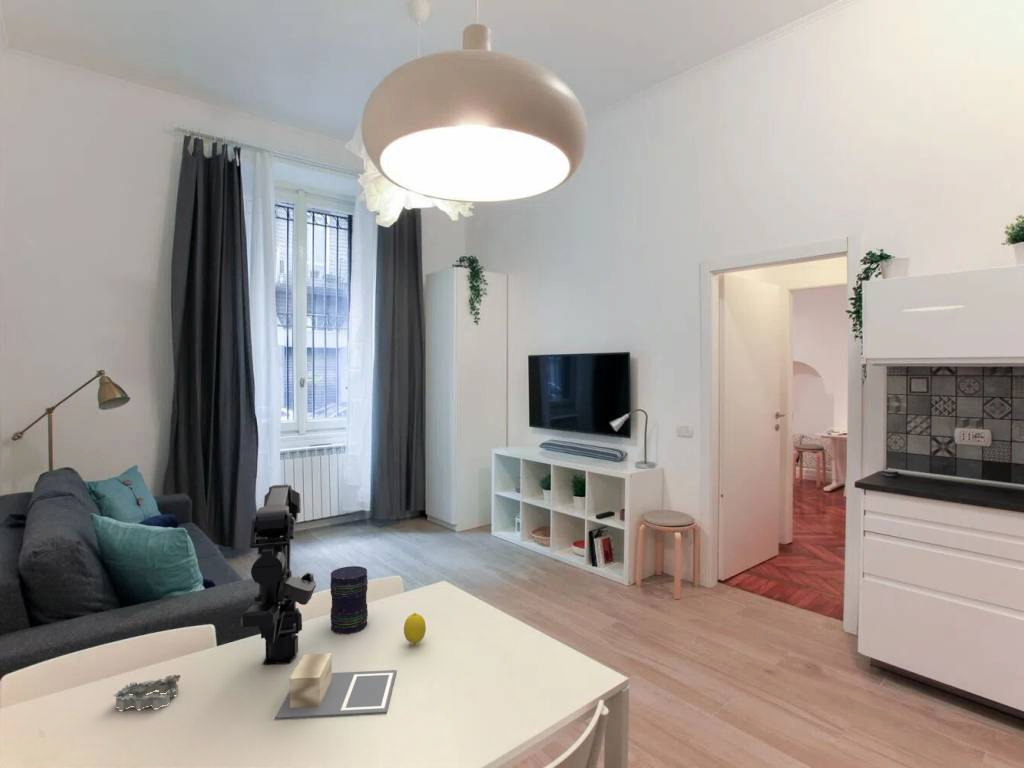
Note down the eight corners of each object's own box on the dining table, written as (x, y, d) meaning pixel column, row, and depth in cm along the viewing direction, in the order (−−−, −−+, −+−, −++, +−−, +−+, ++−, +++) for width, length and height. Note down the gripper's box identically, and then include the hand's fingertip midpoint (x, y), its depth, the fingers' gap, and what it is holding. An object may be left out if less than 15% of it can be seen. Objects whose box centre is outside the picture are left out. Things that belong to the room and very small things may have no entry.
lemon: (421, 650, 136) (421, 618, 136) (400, 648, 138) (400, 616, 138) (428, 640, 142) (428, 609, 142) (408, 638, 143) (408, 607, 143)
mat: (274, 719, 109) (274, 717, 109) (299, 676, 125) (299, 674, 125) (386, 713, 111) (386, 711, 111) (396, 671, 127) (396, 669, 127)
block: (289, 707, 112) (289, 678, 112) (304, 681, 122) (304, 654, 122) (319, 706, 112) (319, 677, 112) (331, 679, 122) (331, 653, 122)
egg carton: (183, 692, 119) (183, 673, 119) (161, 713, 111) (162, 693, 111) (134, 692, 119) (134, 673, 119) (109, 713, 111) (109, 693, 111)
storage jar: (334, 619, 155) (334, 566, 154) (370, 617, 156) (370, 565, 155) (326, 635, 145) (326, 579, 145) (364, 633, 146) (364, 577, 146)
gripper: (297, 583, 108) (298, 661, 108) (322, 553, 126) (323, 620, 126) (239, 585, 107) (240, 664, 107) (273, 554, 125) (273, 622, 125)
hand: (273, 641), depth 116 cm, fingers closed
